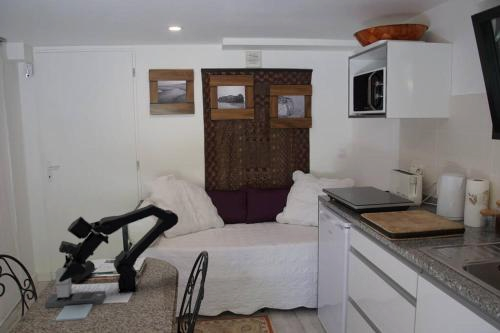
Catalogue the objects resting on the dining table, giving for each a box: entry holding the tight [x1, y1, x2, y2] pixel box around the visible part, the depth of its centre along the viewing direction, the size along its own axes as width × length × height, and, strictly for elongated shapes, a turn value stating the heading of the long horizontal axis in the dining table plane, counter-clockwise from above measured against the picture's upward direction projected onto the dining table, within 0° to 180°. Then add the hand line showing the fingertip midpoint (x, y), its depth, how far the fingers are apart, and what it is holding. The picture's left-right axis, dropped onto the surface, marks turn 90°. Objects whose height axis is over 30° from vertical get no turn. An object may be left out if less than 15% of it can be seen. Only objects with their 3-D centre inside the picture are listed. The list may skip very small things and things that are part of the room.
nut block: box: [54, 267, 73, 298], centre depth 146 cm, size 4×4×10 cm
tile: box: [55, 304, 94, 323], centre depth 139 cm, size 10×10×1 cm
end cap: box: [71, 259, 96, 284], centre depth 168 cm, size 10×7×7 cm
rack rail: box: [44, 290, 107, 309], centre depth 148 cm, size 20×7×2 cm, turn 98°
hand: (59, 278), depth 145 cm, fingers closed on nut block, 5 cm apart
